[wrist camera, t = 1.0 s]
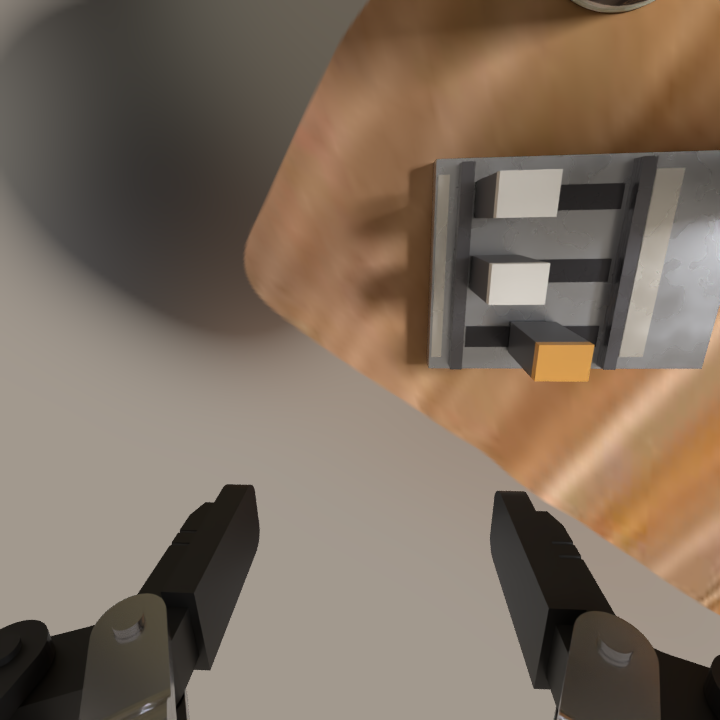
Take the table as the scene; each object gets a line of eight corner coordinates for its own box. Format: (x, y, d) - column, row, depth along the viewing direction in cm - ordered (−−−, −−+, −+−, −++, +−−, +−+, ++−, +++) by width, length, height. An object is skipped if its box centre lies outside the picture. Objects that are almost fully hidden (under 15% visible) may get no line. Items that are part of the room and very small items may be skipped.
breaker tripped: (555, 321, 27) (594, 344, 22) (551, 352, 28) (587, 381, 23) (511, 321, 28) (539, 345, 22) (507, 352, 28) (534, 381, 23)
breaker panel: (741, 152, 25) (779, 145, 22) (686, 361, 29) (712, 373, 27) (433, 162, 26) (438, 156, 24) (426, 361, 31) (429, 373, 28)
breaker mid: (518, 254, 26) (550, 263, 21) (514, 288, 27) (544, 304, 22) (471, 255, 26) (492, 264, 21) (469, 288, 27) (488, 304, 22)
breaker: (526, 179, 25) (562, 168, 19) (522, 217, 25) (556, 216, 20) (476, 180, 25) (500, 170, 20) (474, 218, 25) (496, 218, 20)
